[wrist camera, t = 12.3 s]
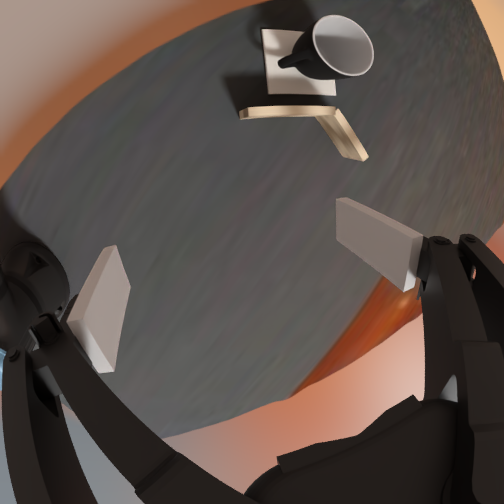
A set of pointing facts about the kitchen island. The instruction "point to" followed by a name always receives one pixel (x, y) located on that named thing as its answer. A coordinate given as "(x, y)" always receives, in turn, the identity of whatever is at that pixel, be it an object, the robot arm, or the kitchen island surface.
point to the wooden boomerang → (326, 117)
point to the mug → (331, 50)
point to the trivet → (289, 78)
